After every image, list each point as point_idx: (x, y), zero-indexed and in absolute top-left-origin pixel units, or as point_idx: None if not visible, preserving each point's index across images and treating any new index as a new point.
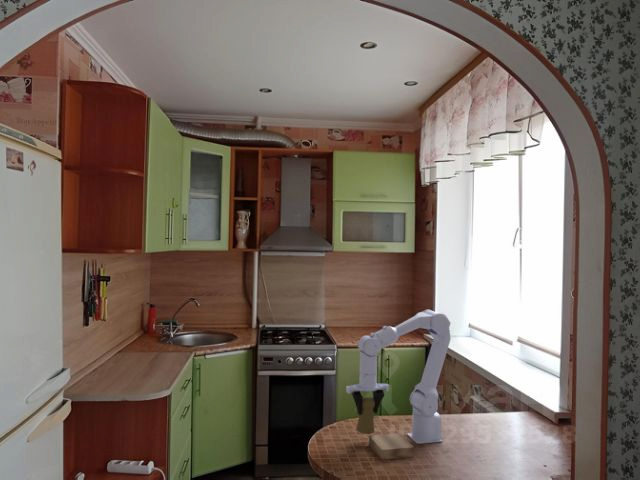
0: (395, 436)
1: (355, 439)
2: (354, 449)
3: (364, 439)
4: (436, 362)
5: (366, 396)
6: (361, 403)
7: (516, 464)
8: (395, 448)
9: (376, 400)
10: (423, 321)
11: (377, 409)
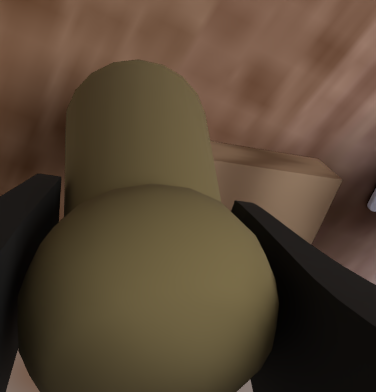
0: (288, 208)
1: (103, 22)
2: (38, 152)
3: (162, 49)
4: None
5: (178, 332)
6: (5, 383)
7: None
8: None
9: (266, 388)
10: None
11: None
